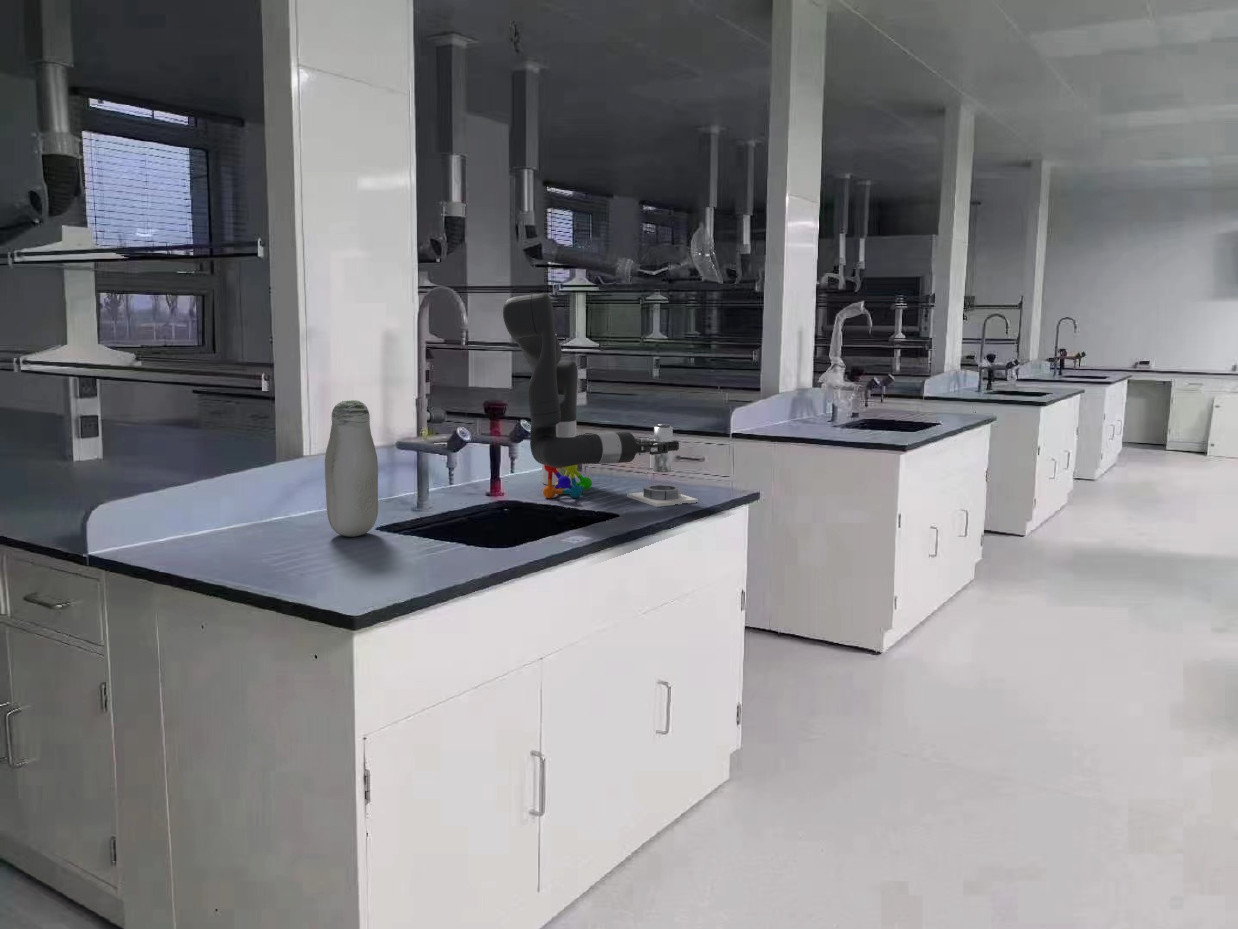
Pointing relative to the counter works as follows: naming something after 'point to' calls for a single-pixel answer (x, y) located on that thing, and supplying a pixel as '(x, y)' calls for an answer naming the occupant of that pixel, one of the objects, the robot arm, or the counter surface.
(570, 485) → the molecular model
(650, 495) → the collar
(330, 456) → the grey bottle
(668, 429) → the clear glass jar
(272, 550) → the counter surface
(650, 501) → the plate
